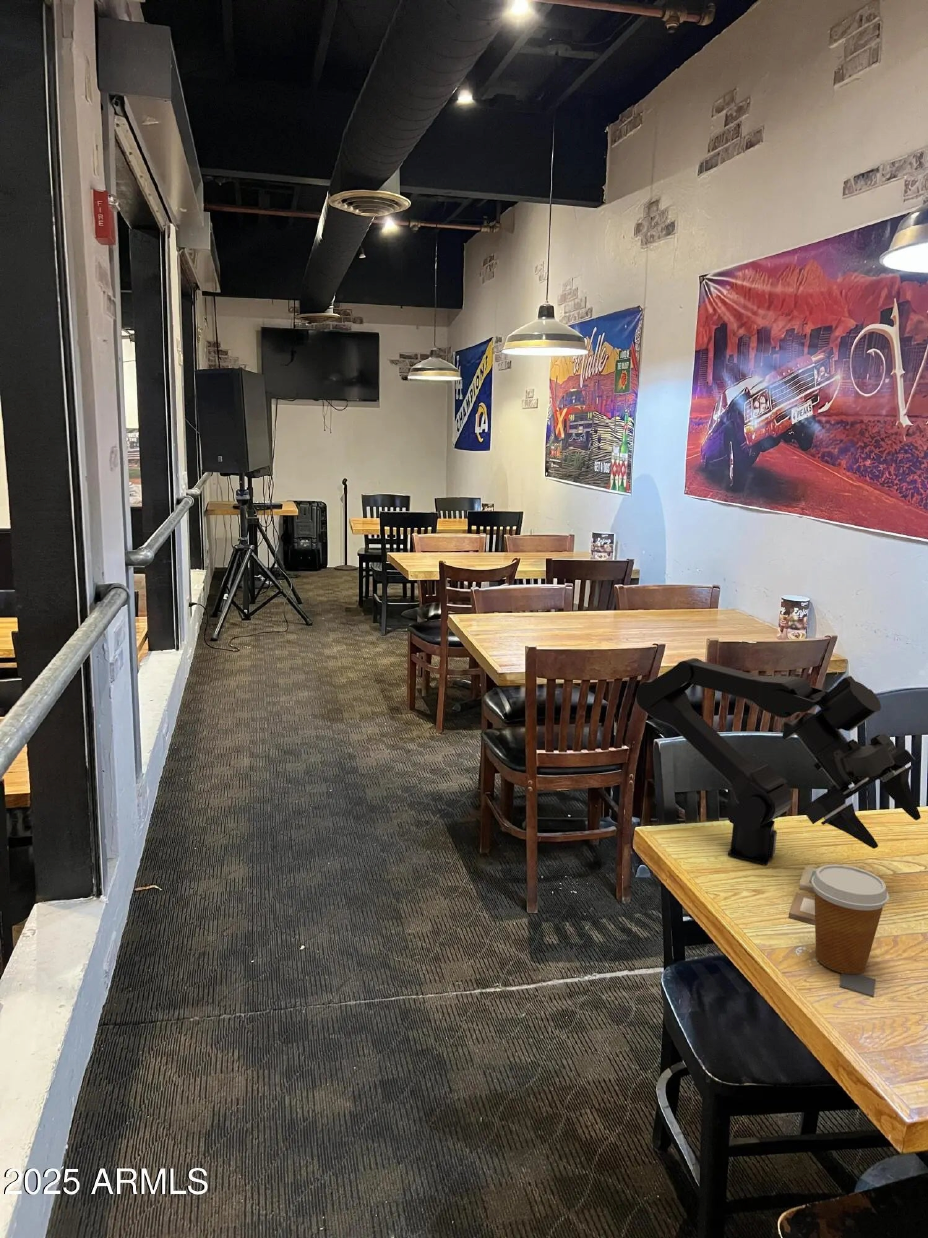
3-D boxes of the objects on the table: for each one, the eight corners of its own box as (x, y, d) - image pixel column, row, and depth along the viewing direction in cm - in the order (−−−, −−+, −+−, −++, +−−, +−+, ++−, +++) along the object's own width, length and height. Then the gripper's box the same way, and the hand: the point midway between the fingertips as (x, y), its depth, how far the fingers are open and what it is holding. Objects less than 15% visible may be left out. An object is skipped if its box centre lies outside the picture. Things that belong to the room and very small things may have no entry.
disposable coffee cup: (803, 971, 112) (813, 887, 110) (803, 936, 121) (811, 858, 119) (882, 989, 109) (893, 902, 107) (876, 952, 118) (886, 871, 116)
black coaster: (839, 986, 110) (839, 985, 109) (842, 970, 113) (843, 969, 113) (873, 997, 108) (873, 996, 108) (875, 980, 111) (875, 979, 111)
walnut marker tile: (788, 917, 126) (789, 912, 125) (795, 896, 132) (796, 891, 131) (839, 931, 122) (839, 926, 122) (844, 909, 128) (845, 904, 128)
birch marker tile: (798, 888, 134) (799, 883, 134) (805, 870, 140) (805, 865, 140) (846, 901, 131) (847, 895, 131) (850, 881, 137) (851, 876, 137)
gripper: (809, 753, 123) (883, 847, 117) (897, 701, 129) (972, 788, 123) (776, 779, 132) (843, 868, 126) (860, 729, 139) (927, 811, 132)
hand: (897, 833), depth 127 cm, fingers open, 9 cm apart
